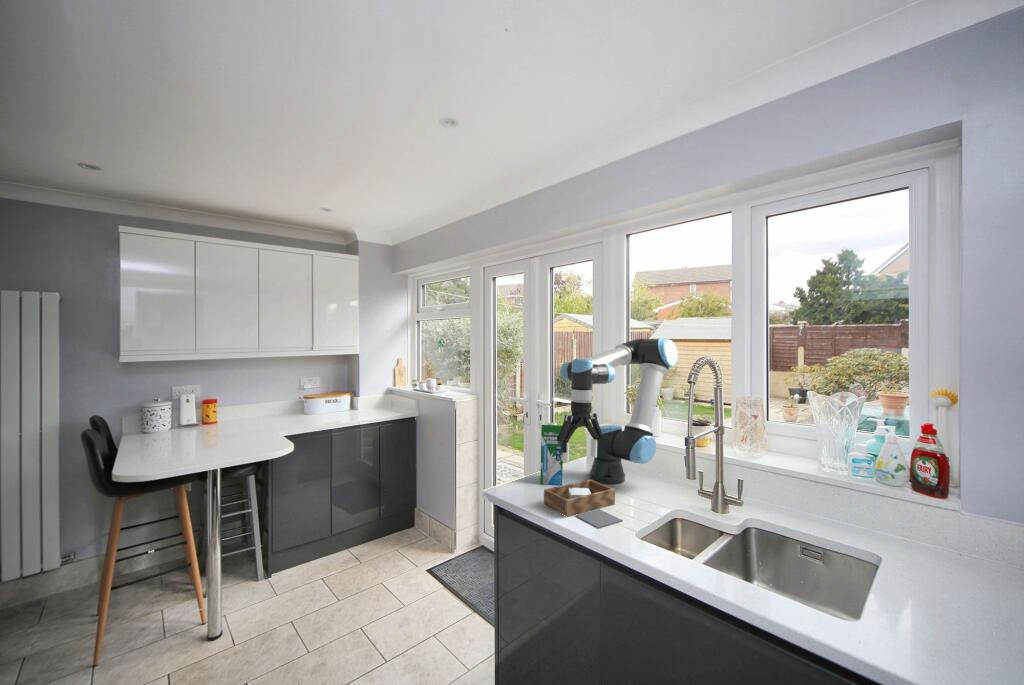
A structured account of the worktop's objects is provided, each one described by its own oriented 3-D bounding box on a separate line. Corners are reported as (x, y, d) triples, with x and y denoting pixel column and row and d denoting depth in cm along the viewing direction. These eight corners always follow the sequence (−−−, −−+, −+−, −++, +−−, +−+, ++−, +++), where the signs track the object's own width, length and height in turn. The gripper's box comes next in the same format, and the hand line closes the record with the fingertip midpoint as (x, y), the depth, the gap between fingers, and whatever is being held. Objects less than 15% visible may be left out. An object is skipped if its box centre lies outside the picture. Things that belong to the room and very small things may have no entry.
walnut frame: (590, 493, 168) (590, 479, 168) (614, 504, 157) (615, 489, 157) (543, 504, 156) (543, 489, 156) (566, 517, 145) (567, 501, 145)
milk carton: (561, 478, 186) (562, 421, 186) (562, 485, 177) (563, 425, 177) (541, 477, 187) (542, 420, 187) (540, 484, 178) (541, 424, 178)
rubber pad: (599, 510, 152) (599, 508, 152) (622, 521, 142) (622, 520, 142) (575, 516, 146) (575, 515, 146) (598, 528, 136) (598, 527, 136)
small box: (592, 509, 152) (592, 495, 152) (570, 509, 153) (570, 494, 153) (588, 501, 160) (588, 487, 160) (567, 500, 160) (567, 487, 160)
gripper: (598, 398, 166) (597, 452, 166) (548, 401, 153) (546, 460, 153) (613, 400, 160) (611, 457, 160) (561, 404, 147) (559, 466, 146)
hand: (579, 459), depth 156 cm, fingers open, 13 cm apart
